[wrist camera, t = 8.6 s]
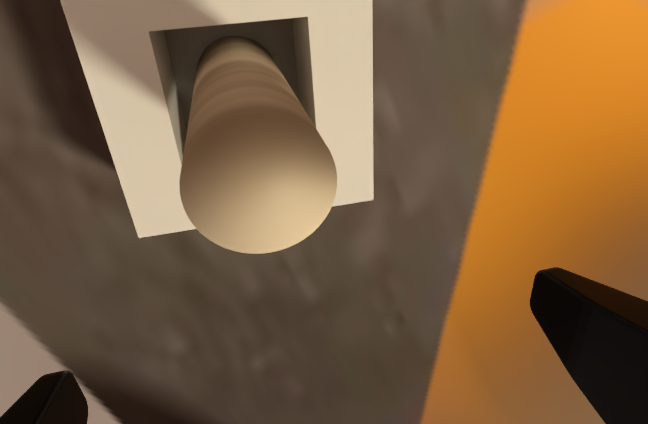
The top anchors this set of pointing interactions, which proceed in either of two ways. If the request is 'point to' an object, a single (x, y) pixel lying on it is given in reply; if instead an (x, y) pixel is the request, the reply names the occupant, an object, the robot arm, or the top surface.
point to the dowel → (252, 154)
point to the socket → (179, 77)
